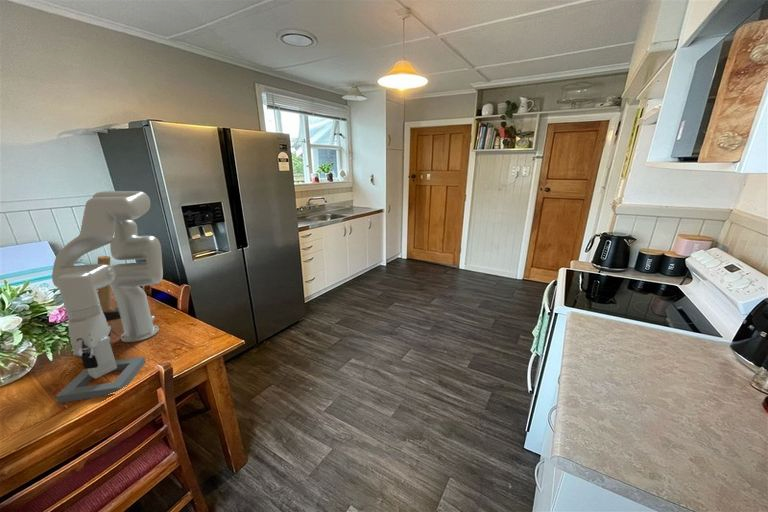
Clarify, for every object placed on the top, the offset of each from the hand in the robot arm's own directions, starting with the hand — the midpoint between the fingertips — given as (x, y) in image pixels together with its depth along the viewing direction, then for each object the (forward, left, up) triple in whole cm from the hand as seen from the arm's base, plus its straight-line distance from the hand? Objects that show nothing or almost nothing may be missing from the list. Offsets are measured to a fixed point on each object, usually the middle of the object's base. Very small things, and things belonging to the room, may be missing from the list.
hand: (99, 359), depth 95 cm
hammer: (-50, -25, -9) cm, 57 cm away
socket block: (0, 0, -8) cm, 8 cm away
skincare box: (0, 0, -5) cm, 5 cm away
